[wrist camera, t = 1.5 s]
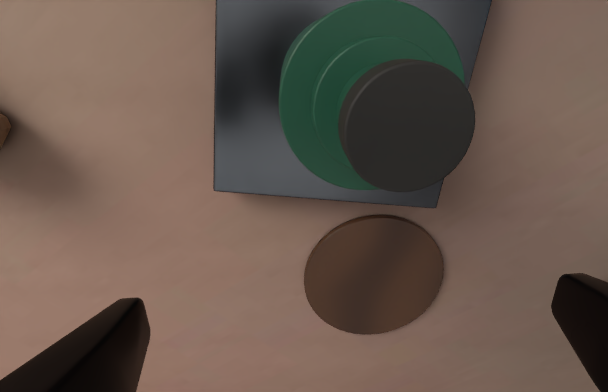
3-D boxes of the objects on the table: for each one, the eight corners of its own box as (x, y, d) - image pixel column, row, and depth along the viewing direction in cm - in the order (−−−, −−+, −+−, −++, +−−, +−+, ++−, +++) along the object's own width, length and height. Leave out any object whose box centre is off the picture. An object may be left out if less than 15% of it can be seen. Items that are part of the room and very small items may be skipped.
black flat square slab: (482, -40, 17) (506, -50, 15) (423, 194, 22) (436, 209, 20) (224, -77, 16) (216, -91, 14) (219, 178, 21) (213, 191, 19)
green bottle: (421, 20, 16) (587, -2, 7) (394, 150, 19) (496, 255, 10) (286, 4, 16) (288, -42, 7) (275, 140, 18) (266, 239, 9)
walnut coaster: (457, 220, 23) (460, 223, 22) (423, 333, 26) (425, 337, 26) (312, 209, 22) (313, 212, 22) (297, 327, 25) (297, 331, 25)
